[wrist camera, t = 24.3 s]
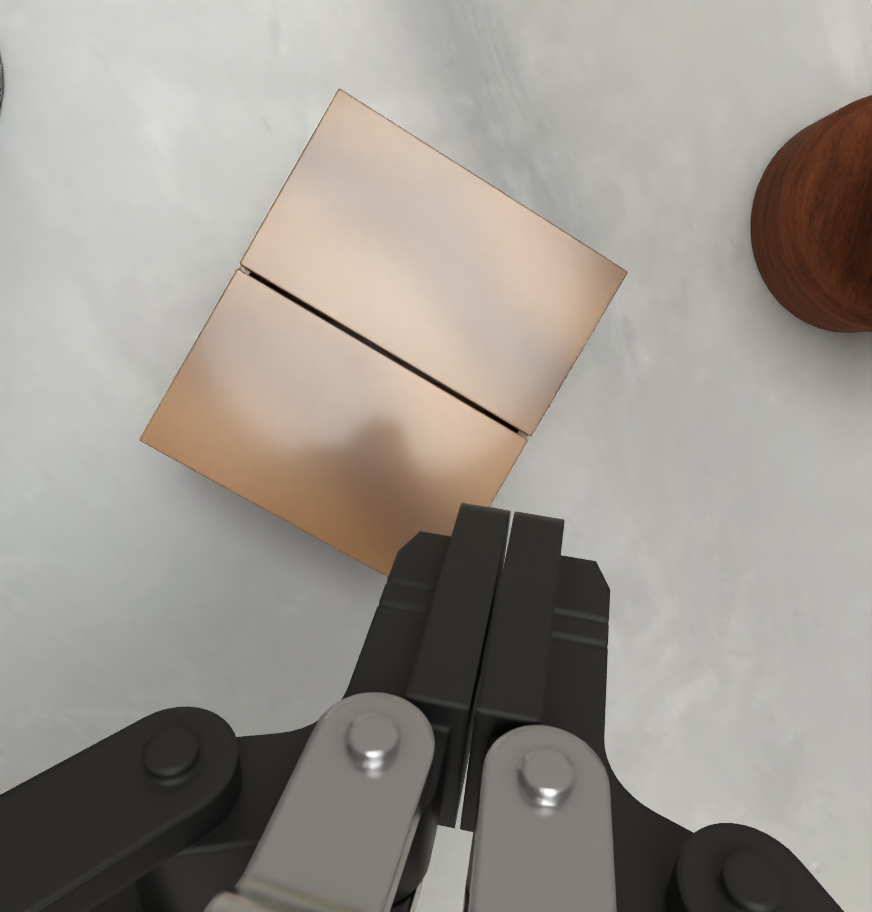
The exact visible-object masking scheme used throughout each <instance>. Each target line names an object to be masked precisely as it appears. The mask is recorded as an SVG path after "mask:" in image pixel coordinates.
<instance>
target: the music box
mask: <svg viewBox="0 0 872 912" xmlns="http://www.w3.org/2000/svg"><path fill="white" fill-rule="evenodd" d="M751 235H752V244H753V250H754V254H755V258H756V261H757V265H758V267H759V270H760V272H761V274H762V277H763V279H764V280H765V282H766V284H767V286H768V287H769V289H770V290H771V292H772V293H773V294H774V296H775V297H776V298H777V299H778V301H779V302H780V303H781V304H782V305H783V306H784V307H785V308H787V309H788V310H789V311H790V312H791V313H793V314H794V315H795V316H797V317H798V318H800V319H802V320H803V321H805V322H807V323H809V324H811V325H814V326H816V327H819V328H822V329H826V330H830V331H836V332H865V331H872V96H868V97H865V98H862V99H859V100H857V101H855V102H852V103H850V104H848V105H846V106H845V107H843V108H841V109H839V110H837V111H835V112H834V113H832V114H830V115H828V116H826V117H824V118H823V119H821V120H819V121H817V122H815V123H813V124H812V125H810V126H808V127H806V128H805V129H803V130H802V131H800V132H799V133H797V134H796V135H795V136H794V137H792V138H791V139H790V140H789V141H788V142H787V143H786V144H785V145H784V146H783V147H782V148H781V149H780V150H779V151H778V153H777V154H776V155H775V156H774V158H773V159H772V161H771V162H770V164H769V165H768V167H767V169H766V170H765V172H764V174H763V176H762V179H761V181H760V183H759V186H758V189H757V192H756V195H755V199H754V204H753V210H752V219H751Z"/></svg>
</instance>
